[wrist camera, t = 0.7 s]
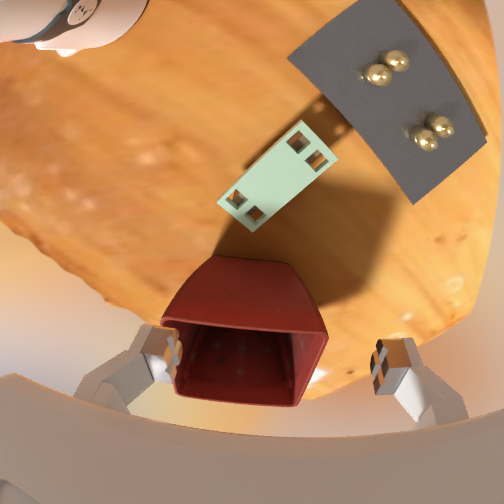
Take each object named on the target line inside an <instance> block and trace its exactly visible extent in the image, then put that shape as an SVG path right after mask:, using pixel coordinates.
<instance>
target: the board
mask: <svg viewBox="0 0 504 504" xmlns="http://www.w3.org/2000/svg"><path fill="white" fill-rule="evenodd" d="M298 130H299V131H300V132H301V133H302V134H303V135H304V136H305V137H306V138H307V139H308V140H309V142H307V143H306V144H305V145H304V146H303V147H302V148H301V149H300V150H298V151H296V150H295V149H294V148H293V147H292V146H291V145H290V144H289V143H288V142H287V140H288V139H290V138H291V137H292V136H293V135H294V134H295V133H296V132H297V131H298ZM317 149H318V150H319V151H320V152H321V153H322V155H323V156H324V157H325V158H326V160H325V161H324V162H322V163H321V164H320V165H319V166H318V167H317V168H316V169H314V168H313V167H312V166H311V165H310V164H309V163H308V162H307V161H306V159H307V158H308V157H309V156H310V155H311V154H312V153H314V152H315V151H316V150H317ZM337 160H338V158H337V156H336V155H335V154H334V153H333V152H332V151H331V150H330V148H329V147H328V146H327V145H326V144H325V143H324V142H323V141H322V140H321V139H320V138H319V137H318V136H317V135H316V134H315V133H314V132H313V130H312V129H311V128H310V127H309V126H308V125H307V124H306V123H305V122H304V121H303V120H302V119H301V120H299V121H298V122H297V123H296V124H295V125H294V126H293V127H292V128H291V129H290V130H288V131H287V132H286V133H285V134H284V135H283V136H282V137H281V138H280V139H279V140H278V141H277V142H275V143H274V144H273V145H272V146H271V147H270V148H269V149H268V150H267V151H266V152H265V153H264V154H263V155H262V156H261V157H260V158H259V159H257V160H256V161H255V162H254V163H253V164H252V165H251V166H250V167H249V168H248V169H247V170H246V171H245V172H244V173H243V174H242V175H241V176H240V177H239V178H238V179H237V180H236V181H235V182H234V183H233V184H232V185H231V186H230V187H229V188H228V189H227V190H226V191H225V192H224V193H223V194H222V195H221V196H220V197H219V198H218V200H217V202H216V203H217V204H219V205H220V206H221V207H222V208H224V209H225V210H226V211H227V212H228V213H230V214H231V215H232V216H233V217H234V218H236V219H237V220H238V221H239V222H240V223H242V224H243V225H244V226H245V227H246V228H248V229H249V230H250V231H251V232H252V233H253V232H254V231H255V230H256V229H257V228H259V227H260V226H261V225H262V224H263V223H264V222H266V221H267V220H268V219H269V218H270V217H271V216H273V215H274V214H275V213H276V212H277V211H278V210H279V209H281V208H282V207H283V206H284V205H285V204H286V203H288V202H289V201H290V200H291V199H292V198H293V197H295V196H296V195H297V194H298V193H299V192H300V191H302V190H303V189H304V188H305V187H306V186H307V185H309V184H310V183H311V182H312V181H313V180H314V179H316V178H317V177H318V176H319V175H320V174H321V173H323V172H324V171H325V170H326V169H327V168H329V167H330V166H331V165H332V164H333V163H334V162H336V161H337ZM235 189H237V190H238V191H239V192H240V193H241V194H243V195H244V196H245V197H246V199H245V200H244V201H243V202H242V203H241V204H240V205H239V206H238V205H237V204H236V203H234V202H233V201H232V200H231V199H230V198H228V196H229V195H230V194H231V193H232V192H233V191H234V190H235ZM254 205H255V206H256V207H258V208H259V209H260V210H261V211H262V212H263V213H264V214H263V215H262V216H260V217H259V218H258V219H257V220H254V219H253V218H252V217H251V216H250V215H248V214H247V212H248V211H249V210H250V209H251V208H252V207H253V206H254Z"/></svg>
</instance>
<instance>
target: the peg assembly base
mask: <svg viewBox="0 0 504 504" xmlns="http://www.w3.org/2000/svg"><path fill="white" fill-rule="evenodd" d="M286 59H287V60H288V61H289V62H291V63H292V64H293V65H294V66H295V67H296V68H297V69H298V70H299V71H300V72H301V73H302V74H303V75H304V76H305V77H306V78H307V79H308V80H309V81H310V82H311V83H312V84H313V85H314V86H315V87H316V88H317V89H318V90H319V91H320V92H321V93H322V94H323V95H324V96H325V97H326V98H327V99H328V100H329V101H330V102H331V103H332V104H333V106H334V107H335V108H336V109H337V110H338V111H339V112H340V113H341V114H342V115H343V117H344V118H345V119H346V120H347V121H348V122H349V123H350V125H351V126H352V127H353V128H354V129H355V130H356V132H357V133H358V134H359V135H360V136H361V137H362V139H363V140H364V141H365V142H366V144H367V145H368V146H369V147H370V148H371V150H372V151H373V152H374V153H375V155H376V156H377V157H378V159H379V160H380V161H381V162H382V164H383V165H384V166H385V168H386V169H387V170H388V172H389V173H390V174H391V176H392V177H393V178H394V180H395V181H396V183H397V184H398V185H399V187H400V188H401V190H402V191H403V192H404V194H405V195H406V197H407V198H408V200H409V201H410V202H411V203H412V205H414V204H415V203H416V202H417V201H419V200H420V199H421V198H422V197H424V196H425V195H426V194H427V193H429V192H430V191H431V190H432V189H433V188H435V187H436V186H437V185H438V184H439V183H441V182H442V181H443V180H444V179H445V178H447V177H448V176H449V175H450V174H451V173H453V172H454V171H455V170H456V169H457V168H458V167H460V166H461V165H462V164H463V163H464V162H465V161H467V160H468V159H469V158H470V157H471V156H472V155H473V154H475V153H476V152H477V151H478V150H479V149H480V148H481V147H482V146H484V145H485V144H486V143H487V141H486V139H485V136H484V134H483V132H482V130H481V128H480V126H479V124H478V122H477V120H476V118H475V116H474V114H473V112H472V110H471V108H470V106H469V105H468V103H467V101H466V99H465V97H464V96H463V94H462V92H461V90H460V89H459V87H458V85H457V84H456V82H455V80H454V79H453V77H452V75H451V74H450V72H449V71H448V69H447V68H446V66H445V65H444V63H443V62H442V60H441V59H440V57H439V56H438V54H437V53H436V51H435V50H434V49H433V47H432V46H431V44H430V43H429V42H428V40H427V39H426V38H425V36H424V35H423V34H422V32H421V31H420V30H419V29H418V27H417V26H416V25H415V24H414V22H413V21H412V20H411V19H410V18H409V16H408V15H407V14H406V13H405V12H404V10H403V9H402V8H401V7H400V6H399V5H398V4H397V3H396V1H395V0H358V1H357V2H355V3H354V4H353V5H351V6H350V7H349V8H347V9H346V10H345V11H343V12H342V13H341V14H339V15H338V16H337V17H335V18H334V19H333V20H332V21H330V22H329V23H328V24H327V25H325V26H324V27H323V28H322V29H320V30H319V31H318V32H317V33H315V34H314V35H313V36H312V37H311V38H309V39H308V40H307V41H306V42H305V43H303V44H302V45H301V46H300V47H299V48H298V49H296V50H295V51H294V52H293V53H292V54H291V55H290V56H288V57H287V58H286Z"/></svg>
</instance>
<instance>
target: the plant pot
mask: <svg viewBox="0 0 504 504" xmlns="http://www.w3.org/2000/svg"><path fill="white" fill-rule="evenodd" d="M160 325H161V326H162V327H168V328H175V329H178V332H179V338H178V340H179V341H180V342H181V344H182V358H181V361H180V364H179V365H177V366H176V371H177V373H176V376H175V379H174V382H173V385H174V390H175V393H176V394H178V395H180V396H183V397H188V398H195V399H202V400H210V401H218V402H227V403H236V404H248V405H260V406H276V407H294V406H297V405H298V404H299V402H300V400H301V398H302V396H303V394H304V392H305V390H306V388H307V385H308V383H309V381H310V379H311V377H312V375H313V373H314V370H315V368H316V366H317V364H318V362H319V359H320V357H321V355H322V353H323V351H324V349H325V346H326V344H327V342H328V339H329V336H328V333H327V330H326V327H325V324H324V322H323V319H322V317H321V314H320V312H319V310H318V308H317V306H316V304H315V302H314V300H313V298H312V296H311V294H310V293H309V291H308V289H307V288H306V286H305V285H304V283H303V282H302V280H301V279H300V278H299V276H298V275H297V274H296V272H295V271H294V270H293V269H292V268H291V267H290V266H289V265H288V264H287V263H281V262H271V261H261V260H251V259H242V258H232V257H223V256H212V257H211V258H209V259H208V260H207V261H205V262H204V263H203V264H202V265H201V266H200V267H199V268H198V269H196V270H195V271H194V272H193V274H192V275H191V276H190V277H189V278H188V279H187V280H186V281H185V283H184V284H183V285H182V287H181V288H180V289H179V290H178V292H177V293H176V295H175V296H174V298H173V299H172V301H171V302H170V304H169V306H168V307H167V309H166V311H165V312H164V314H163V316H162V318H161V320H160Z"/></svg>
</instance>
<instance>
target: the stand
mask: <svg viewBox="0 0 504 504" xmlns="http://www.w3.org/2000/svg"><path fill="white" fill-rule="evenodd" d="M287 142H288V143H289V144H290V145H291V146H292V147H293V148H294V149H295V150H296V151H298V150H300V149H301V148H302V147H303V146H304V145H305V144H306V143H307V142H309V140H308V139H307V138H306V137H305V136H304V135H303V134H302V133H301V132H300V131H299V130H298V131H297V132H296V133H295V134H294V135H293V136H292V137H291V138H290V139H288V140H287ZM320 153H321V152H320V151H319V150H318V149H317V150H316V151H315V152H314V153H312V154H311V155H310V156H309V157H308V158H307V159H306V161H307V162H308V163H310V162H311V161H312V160H313V159H315V158H316V157H317V156H318V155H319V154H320ZM245 199H246V197H245V196H244V195H243V194H241V193H240V192H239V191H238V190H237V189H235V192H234V196H233V200H232V201H233V202H234V203H236V204H237V205H238V206H239V205H240V204H241V203H242V202H243V201H244V200H245ZM257 209H258V207H256V206H255V205H254V206H253V207H252V208H251V209H250V210H249V211H248V212H247V214H248V215H251V214H253V213H254V212H255V211H256V210H257Z"/></svg>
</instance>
